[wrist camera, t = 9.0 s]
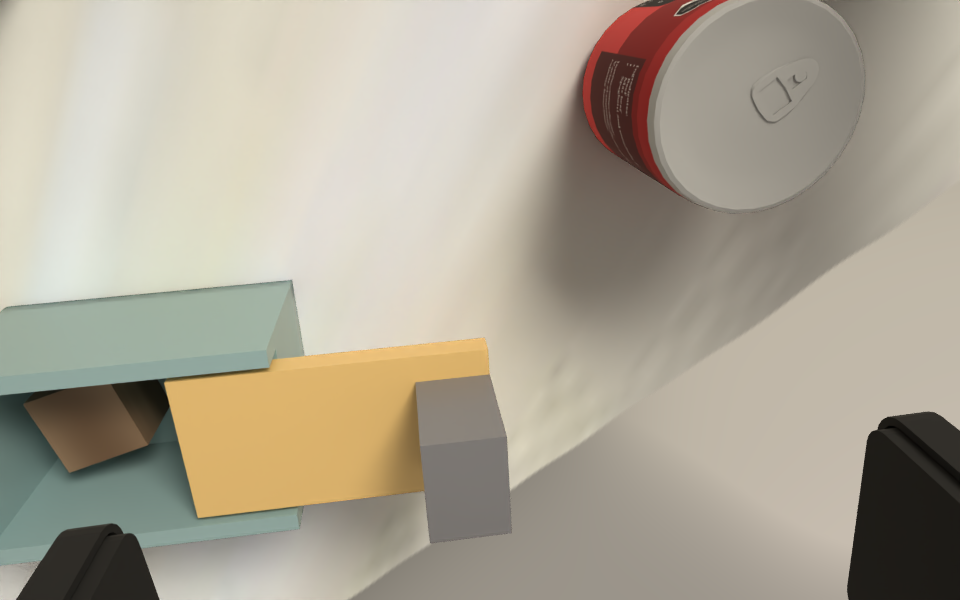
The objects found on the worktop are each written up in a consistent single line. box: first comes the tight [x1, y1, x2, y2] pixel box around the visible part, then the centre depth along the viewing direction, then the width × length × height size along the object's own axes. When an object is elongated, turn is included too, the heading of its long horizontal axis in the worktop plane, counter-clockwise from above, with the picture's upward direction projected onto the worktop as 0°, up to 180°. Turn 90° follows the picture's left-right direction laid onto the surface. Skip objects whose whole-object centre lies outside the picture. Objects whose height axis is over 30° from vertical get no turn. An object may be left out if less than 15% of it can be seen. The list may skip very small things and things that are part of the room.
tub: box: [0, 280, 304, 566], centre depth 34 cm, size 14×9×8 cm, turn 93°
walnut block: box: [23, 379, 170, 473], centre depth 36 cm, size 4×4×4 cm
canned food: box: [583, 0, 865, 214], centre depth 31 cm, size 8×8×11 cm
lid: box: [164, 338, 512, 543], centre depth 30 cm, size 13×7×6 cm, turn 93°
